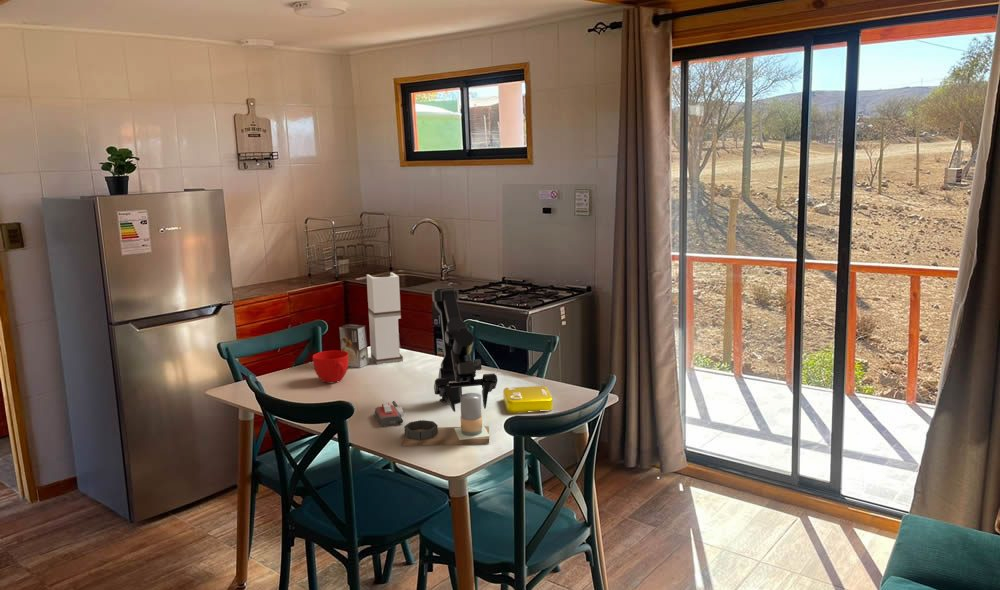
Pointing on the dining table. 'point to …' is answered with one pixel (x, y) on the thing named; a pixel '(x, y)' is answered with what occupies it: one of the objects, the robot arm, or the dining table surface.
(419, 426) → the grey octagonal ring
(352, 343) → the coffee box
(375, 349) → the tall white stacked column
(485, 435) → the sage pad
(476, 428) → the two-tone cylinder
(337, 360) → the ceramic cup
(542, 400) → the element tile
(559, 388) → the dining table surface
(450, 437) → the walnut board
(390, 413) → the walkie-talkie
